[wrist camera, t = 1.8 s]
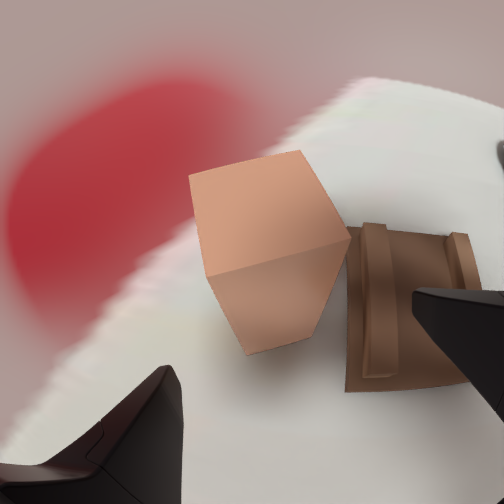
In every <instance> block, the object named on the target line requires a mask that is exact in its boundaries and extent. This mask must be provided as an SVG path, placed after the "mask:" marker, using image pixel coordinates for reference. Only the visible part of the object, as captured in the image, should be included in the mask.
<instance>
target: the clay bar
mask: <svg viewBox="0 0 504 504" xmlns="http://www.w3.org/2000/svg"><path fill="white" fill-rule="evenodd" d="M189 181H190V188H191V194H192V200H193V207H194V213H195V219H196V225H197V231H198V236H199V242H200V247H201V253H202V258H203V263H204V269H205V274H206V278H207V280H208V282H209V284H210V286H211V288H212V290H213V292H214V294H215V296H216V298H217V300H218V302H219V304H220V306H221V308H222V310H223V312H224V314H225V316H226V318H227V319H228V321H229V323H230V325H231V327H232V329H233V331H234V333H235V335H236V337H237V338H238V340H239V342H240V344H241V346H242V348H243V350H244V351H245V353H246V355H251V354H255V353H259V352H263V351H266V350H270V349H273V348H277V347H280V346H284V345H287V344H290V343H294V342H297V341H300V340H303V339H307V338H310V337H311V336H312V334H313V332H314V330H315V328H316V325H317V323H318V321H319V319H320V316H321V314H322V312H323V309H324V307H325V305H326V302H327V300H328V298H329V295H330V293H331V290H332V288H333V286H334V283H335V281H336V278H337V276H338V273H339V270H340V268H341V265H342V263H343V260H344V257H345V255H346V252H347V249H348V247H349V244H350V241H351V236H350V234H349V232H348V230H347V228H346V226H345V225H344V223H343V221H342V219H341V217H340V216H339V214H338V212H337V210H336V208H335V207H334V205H333V203H332V201H331V200H330V198H329V196H328V195H327V193H326V191H325V189H324V188H323V186H322V184H321V183H320V181H319V179H318V178H317V176H316V174H315V173H314V171H313V170H312V168H311V166H310V165H309V163H308V162H307V160H306V158H305V157H304V155H303V154H302V152H301V151H300V150H297V151H291V152H286V153H281V154H276V155H271V156H266V157H261V158H257V159H252V160H248V161H243V162H239V163H235V164H231V165H226V166H222V167H218V168H215V169H210V170H207V171H203V172H200V173H195V174H192V175H189Z"/></svg>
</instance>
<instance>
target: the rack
mask: <svg viewBox="0 0 504 504" xmlns="http://www.w3.org/2000/svg"><path fill="white" fill-rule="evenodd" d="M346 228H347V230H348V232H349V234H350V236H351V241H350V244H349V247H348V249H347V252H346V262H347V297H348V329H347V363H346V381H345V392H383V391H400V390H412V389H422V388H431V387H439V386H446V385H453V384H459V383H465V382H470V381H469V380H468V379H467V378H466V377H465V376H464V374H463V373H462V372H461V371H460V370H459V369H458V368H457V367H456V366H455V364H454V363H453V362H452V361H451V360H450V359H449V358H448V357H447V356H446V355H445V354H444V352H443V351H442V350H441V349H440V348H439V347H438V346H437V345H436V344H435V343H434V342H433V340H432V339H431V338H430V337H429V335H428V334H427V333H426V331H425V330H424V329H423V328H422V326H421V325H420V324H419V322H418V321H417V320H416V319H415V317H414V316H413V314H412V292H413V291H414V290H416V289H418V288H421V287H425V288H444V289H465V290H482V287H481V282H480V278H479V274H478V269H477V265H476V262H475V258H474V254H473V251H472V247H471V244H470V240H469V237H468V234H464V233H456V232H452V233H451V234H450V235H449V236H441V235H432V234H423V233H413V232H404V231H393V230H387V228H386V224H376V223H365V222H364V223H363V226H362V228H361V227H349V226H347V227H346Z"/></svg>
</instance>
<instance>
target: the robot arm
mask: <svg viewBox="0 0 504 504" xmlns="http://www.w3.org/2000/svg"><path fill="white" fill-rule="evenodd" d="M412 314H413V316H414V317H415V319H416V320H417V321H418V322H419V324H420V325H421V326H422V328H423V329H424V330H425V331H426V333H427V334H428V335H429V337H430V338H431V339H432V340H433V342H434V343H435V344H436V345H437V346H438V347H439V348H440V349H441V350H442V351H443V352H444V354H445V355H446V356H447V357H448V358H449V359H450V360H451V361H452V362H453V363H454V364H455V366H456V367H457V368H458V369H459V370H460V371H461V372H462V373H463V374H464V376H465V377H466V378H467V379H468V380H469V381H470V382H471V384H472V385H473V386H474V387H475V388H476V389H477V390H478V392H479V393H480V394H481V395H482V396H483V398H484V399H485V400H486V401H487V402H488V404H489V405H490V406H491V407H492V408H493V410H494V411H496V414H497V415H498V416H499V417H500V419H501V420H502V421H503V422H504V291H490V290H465V289H444V288H425V287H421V288H418V289H416V290H414V291H413V292H412ZM100 421H101V422H100ZM100 421H98V422H97V423H96V424H95V425H94V426H93V427H92V428H91V429H89V430H88V431H87V432H86V433H85V434H83V435H82V436H81V437H80V438H78V439H77V440H76V441H74V442H73V443H72V444H70V445H69V446H67V447H66V448H65V449H63V450H62V451H60V452H59V453H58V454H56V455H55V456H53V457H52V458H51V459H49V460H48V461H46V462H44V463H41V464H38V465H15V464H4V463H0V504H181V482H182V450H183V429H184V422H183V407H182V390H181V385H180V382H179V380H178V378H177V376H176V374H175V372H174V370H173V368H172V366H171V365H165V366H160V367H158V368H157V369H156V370H155V371H154V372H153V373H152V374H151V375H149V376H148V377H147V378H146V379H145V380H144V381H143V382H142V383H141V384H140V385H139V386H137V387H136V388H135V389H134V390H133V391H132V392H131V393H130V394H129V395H128V396H126V397H125V398H124V399H123V400H122V401H121V402H120V403H119V404H118V405H116V406H115V407H114V408H113V409H112V410H111V411H110V412H109V413H108V414H106V415H105V416H104V417H103V418H102V419H101V420H100ZM497 504H504V498H503V499H502V500H500V501H499V502H498V503H497Z"/></svg>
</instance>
